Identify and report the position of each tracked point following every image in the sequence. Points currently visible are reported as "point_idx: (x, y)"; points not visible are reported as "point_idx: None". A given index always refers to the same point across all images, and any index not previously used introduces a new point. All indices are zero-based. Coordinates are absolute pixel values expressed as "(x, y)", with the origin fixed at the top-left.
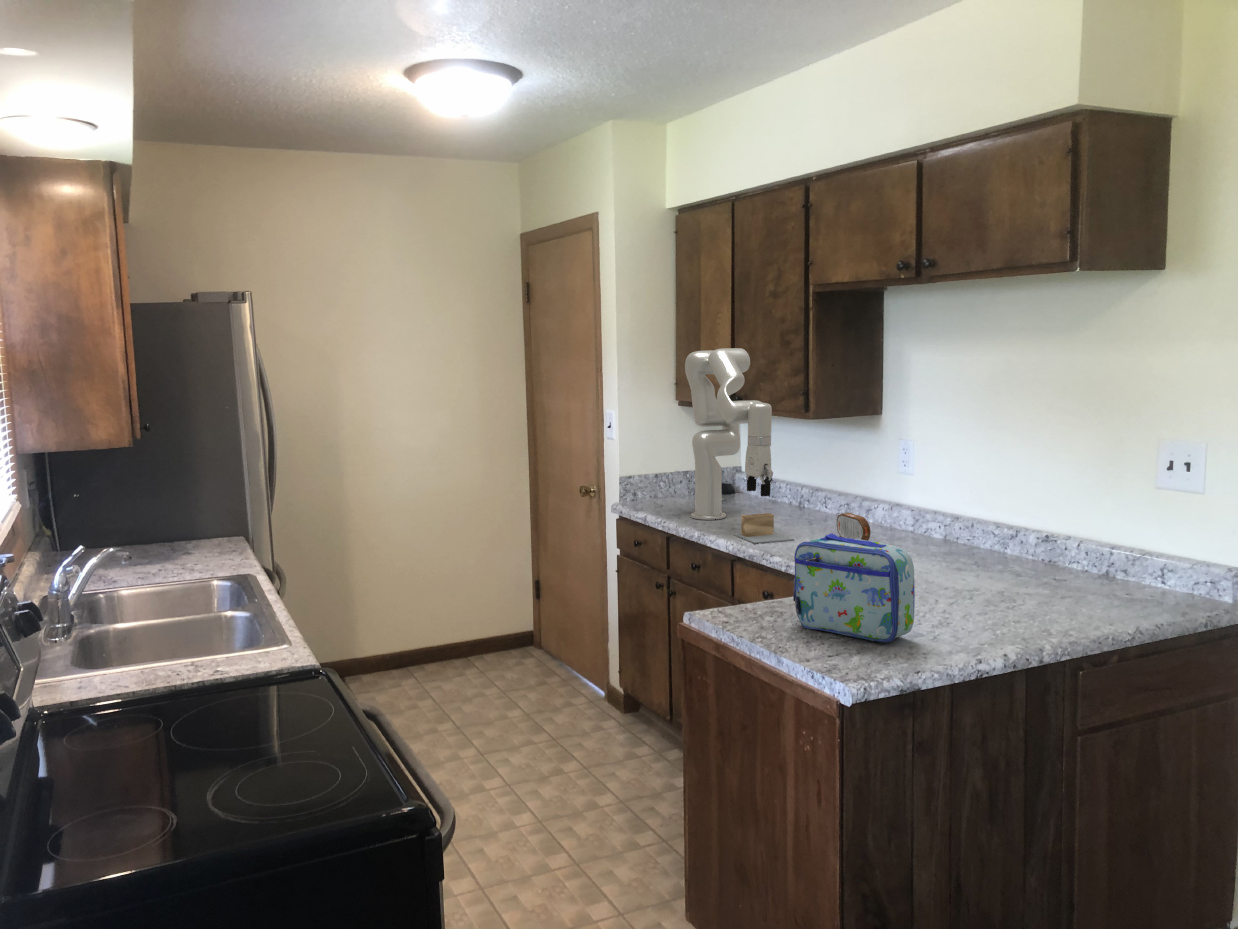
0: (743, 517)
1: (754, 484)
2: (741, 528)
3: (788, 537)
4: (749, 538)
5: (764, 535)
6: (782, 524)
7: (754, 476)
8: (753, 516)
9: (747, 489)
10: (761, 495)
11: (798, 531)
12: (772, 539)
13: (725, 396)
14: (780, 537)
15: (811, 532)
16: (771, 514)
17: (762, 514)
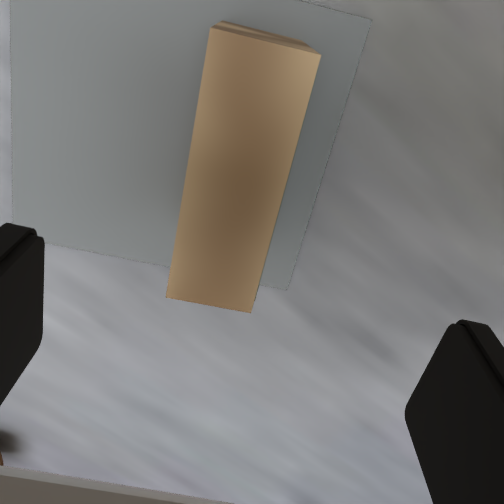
0: (271, 42)
1: (439, 468)
2: (302, 43)
3: (65, 239)
4: (161, 2)
5: None
6: (394, 430)
7: (7, 471)
8: (197, 116)
9: (473, 331)
10: (5, 226)
11: (214, 387)
12: (52, 119)
13: None
14: (87, 203)
15: (159, 413)
16: (189, 294)
17: (231, 242)
